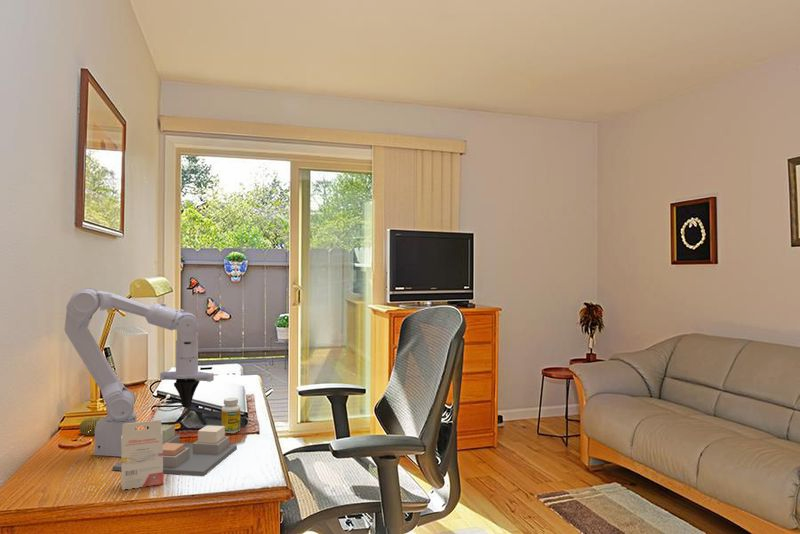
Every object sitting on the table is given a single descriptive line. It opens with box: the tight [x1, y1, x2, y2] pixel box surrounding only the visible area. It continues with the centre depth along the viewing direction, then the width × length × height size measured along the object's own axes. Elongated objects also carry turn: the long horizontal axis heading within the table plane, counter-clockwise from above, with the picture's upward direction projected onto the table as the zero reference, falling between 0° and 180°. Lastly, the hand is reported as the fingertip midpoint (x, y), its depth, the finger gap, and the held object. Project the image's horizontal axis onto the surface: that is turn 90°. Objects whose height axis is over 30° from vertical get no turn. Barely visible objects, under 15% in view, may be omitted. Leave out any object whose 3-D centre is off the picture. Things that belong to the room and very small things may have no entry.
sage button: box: [161, 424, 176, 443], centre depth 148 cm, size 5×5×4 cm
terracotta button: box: [163, 443, 185, 456], centre depth 138 cm, size 5×5×4 cm
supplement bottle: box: [221, 397, 241, 434], centre depth 166 cm, size 5×5×10 cm
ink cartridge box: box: [120, 419, 164, 491], centre depth 127 cm, size 9×5×15 cm, turn 114°
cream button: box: [197, 424, 226, 444], centre depth 147 cm, size 5×5×4 cm
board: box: [112, 434, 238, 477], centre depth 143 cm, size 23×19×4 cm
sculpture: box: [78, 416, 104, 436], centre depth 164 cm, size 8×4×8 cm
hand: (186, 406), depth 154 cm, fingers closed
